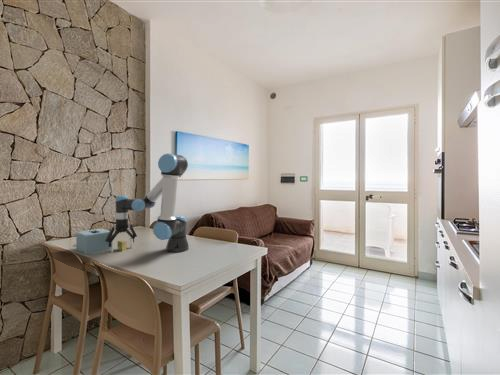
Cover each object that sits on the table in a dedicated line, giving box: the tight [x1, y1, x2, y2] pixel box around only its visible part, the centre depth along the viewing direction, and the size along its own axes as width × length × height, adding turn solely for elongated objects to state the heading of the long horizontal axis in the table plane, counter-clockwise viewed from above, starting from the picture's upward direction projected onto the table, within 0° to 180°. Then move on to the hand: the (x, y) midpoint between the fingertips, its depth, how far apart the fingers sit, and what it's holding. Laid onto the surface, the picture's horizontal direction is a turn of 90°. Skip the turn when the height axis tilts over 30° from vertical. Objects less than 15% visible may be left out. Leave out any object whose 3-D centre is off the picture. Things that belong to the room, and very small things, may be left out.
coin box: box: [75, 228, 112, 255], centre depth 176 cm, size 16×16×12 cm
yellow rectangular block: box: [117, 239, 127, 252], centre depth 176 cm, size 6×3×6 cm, turn 53°
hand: (121, 249), depth 176 cm, fingers open, 13 cm apart
